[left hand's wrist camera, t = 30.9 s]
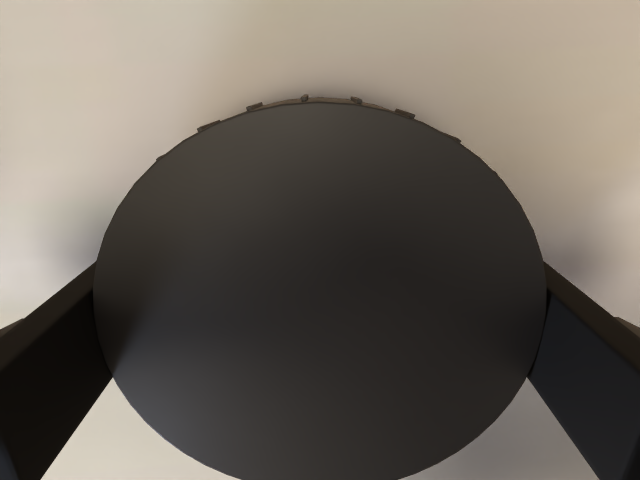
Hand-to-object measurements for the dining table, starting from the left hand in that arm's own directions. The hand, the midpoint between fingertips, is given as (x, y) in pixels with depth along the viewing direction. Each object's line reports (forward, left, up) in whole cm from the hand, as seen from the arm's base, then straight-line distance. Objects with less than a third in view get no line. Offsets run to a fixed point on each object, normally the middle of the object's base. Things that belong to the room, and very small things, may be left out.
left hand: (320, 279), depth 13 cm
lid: (0, 0, +3) cm, 3 cm away
